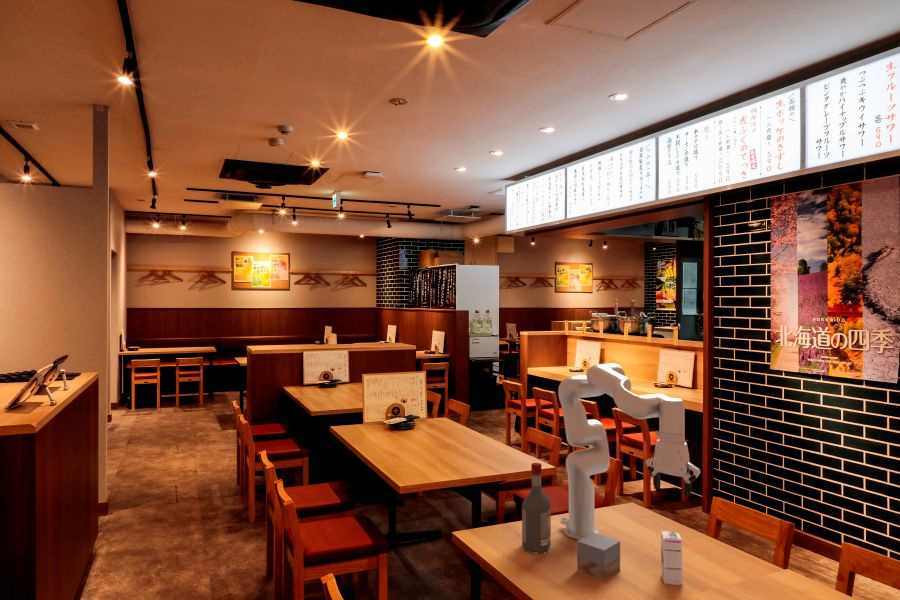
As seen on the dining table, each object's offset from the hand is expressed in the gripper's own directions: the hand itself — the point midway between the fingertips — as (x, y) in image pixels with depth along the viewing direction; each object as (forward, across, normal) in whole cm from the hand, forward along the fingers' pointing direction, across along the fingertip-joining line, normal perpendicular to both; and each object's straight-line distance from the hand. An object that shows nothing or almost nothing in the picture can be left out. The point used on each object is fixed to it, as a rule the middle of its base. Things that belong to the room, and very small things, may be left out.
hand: (672, 491), depth 184 cm
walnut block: (+28, -20, -10) cm, 36 cm away
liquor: (+28, -45, -10) cm, 54 cm away
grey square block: (+24, -20, -10) cm, 33 cm away
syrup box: (+28, 0, 0) cm, 28 cm away
